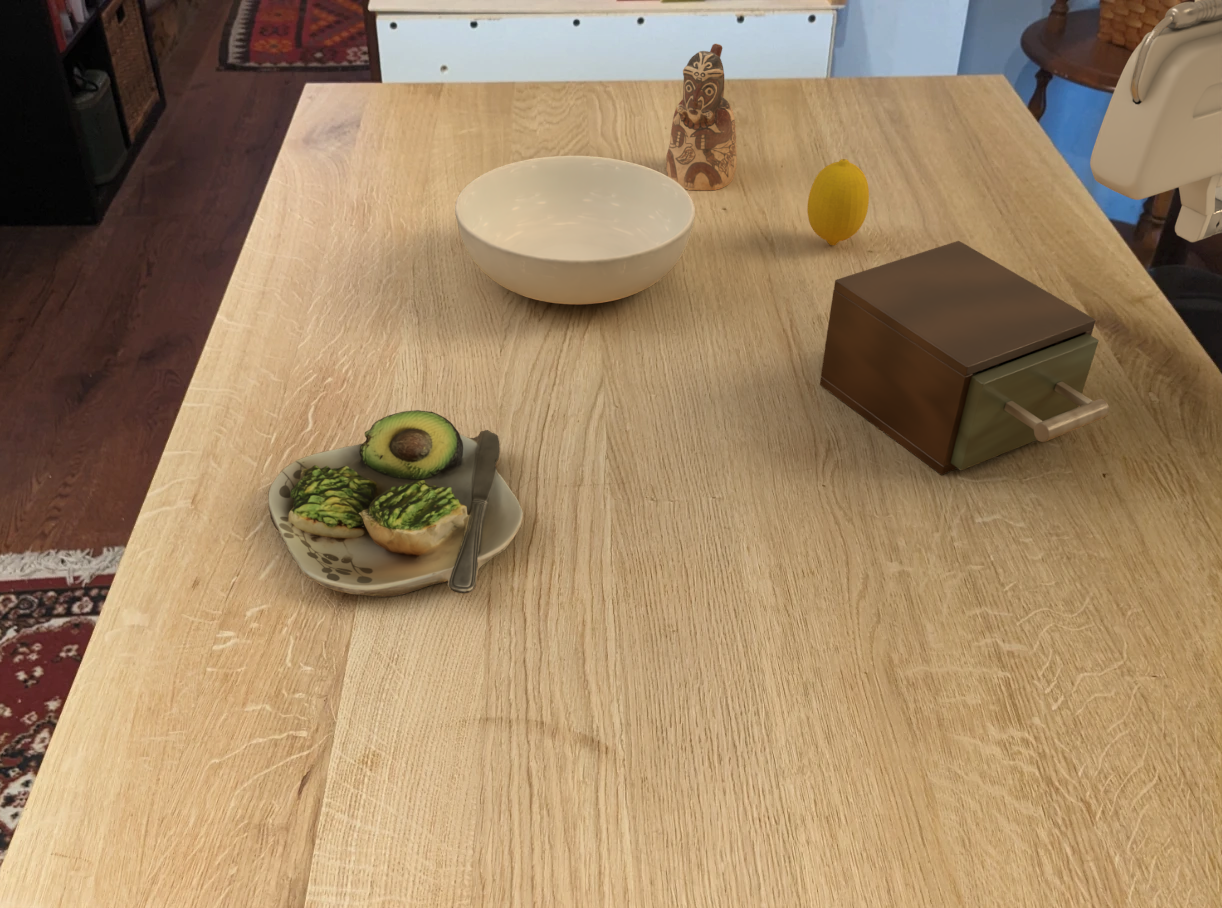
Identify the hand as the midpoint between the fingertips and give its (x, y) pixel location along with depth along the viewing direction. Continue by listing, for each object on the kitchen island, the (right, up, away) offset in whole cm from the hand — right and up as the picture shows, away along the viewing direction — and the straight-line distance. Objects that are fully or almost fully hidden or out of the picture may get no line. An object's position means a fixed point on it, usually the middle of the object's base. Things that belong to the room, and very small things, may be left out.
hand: (1200, 233), depth 76 cm
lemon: (-14, +16, +44) cm, 49 cm away
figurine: (-25, +27, +55) cm, 66 cm away
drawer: (-7, -6, +22) cm, 24 cm away
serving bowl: (-38, +11, +40) cm, 56 cm away
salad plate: (-50, -15, +15) cm, 55 cm away
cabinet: (-9, -4, +25) cm, 27 cm away
